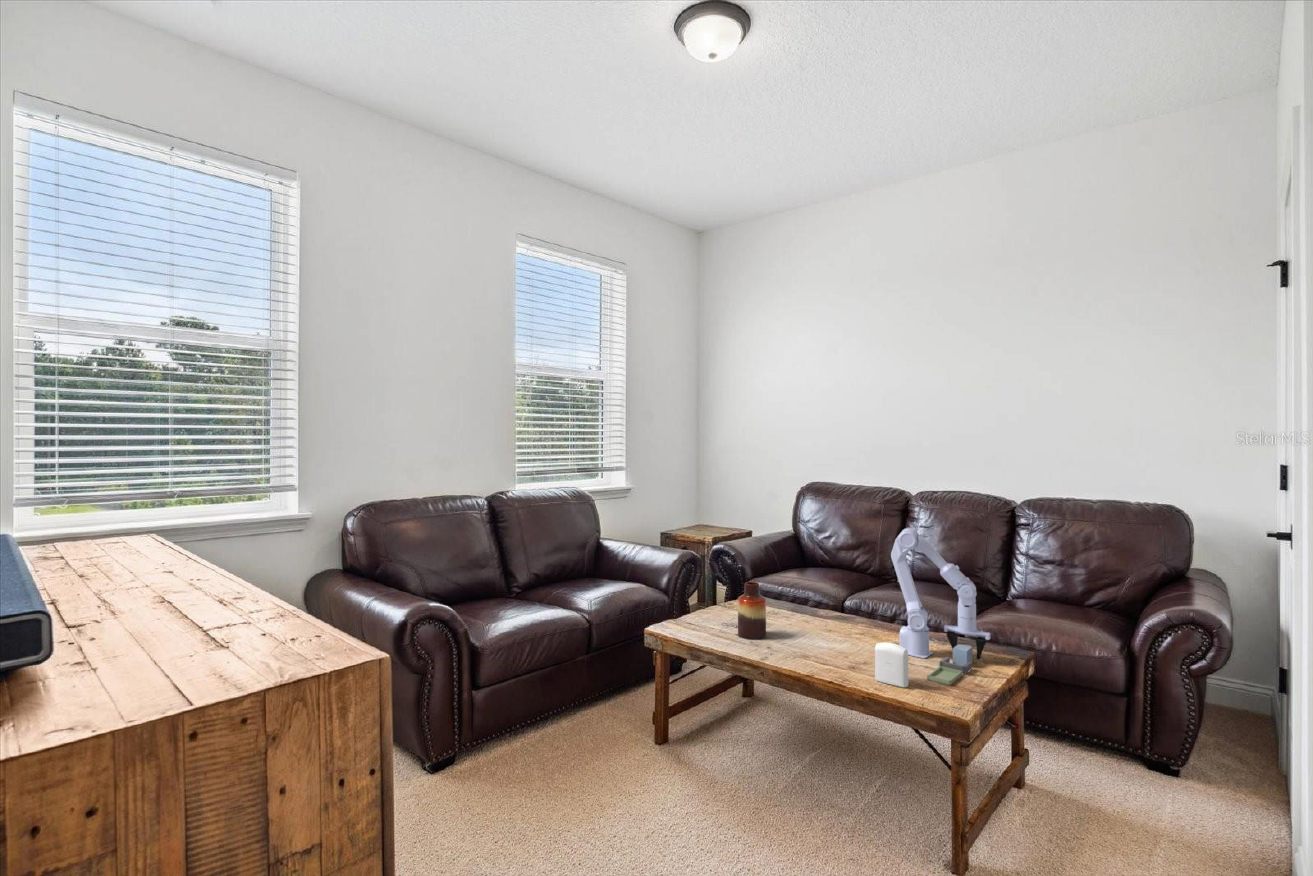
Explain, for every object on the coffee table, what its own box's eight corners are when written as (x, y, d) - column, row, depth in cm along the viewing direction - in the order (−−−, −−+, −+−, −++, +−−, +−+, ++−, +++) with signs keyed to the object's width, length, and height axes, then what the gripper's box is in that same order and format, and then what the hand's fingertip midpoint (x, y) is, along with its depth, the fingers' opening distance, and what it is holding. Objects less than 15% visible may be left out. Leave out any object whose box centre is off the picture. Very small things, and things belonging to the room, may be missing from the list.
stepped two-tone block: (952, 664, 222) (952, 648, 222) (961, 657, 229) (961, 642, 229) (966, 667, 219) (966, 651, 219) (974, 660, 226) (974, 644, 226)
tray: (927, 680, 208) (927, 675, 208) (939, 670, 217) (939, 666, 217) (950, 685, 204) (950, 681, 204) (962, 675, 212) (962, 671, 212)
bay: (939, 669, 218) (939, 661, 218) (946, 664, 223) (946, 656, 223) (965, 675, 213) (965, 667, 213) (971, 669, 218) (971, 662, 218)
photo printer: (872, 681, 208) (872, 641, 208) (878, 677, 211) (878, 638, 211) (904, 689, 201) (904, 649, 201) (910, 685, 204) (910, 645, 204)
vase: (765, 631, 260) (765, 580, 260) (767, 640, 249) (766, 586, 249) (737, 631, 261) (737, 579, 261) (738, 639, 250) (738, 586, 250)
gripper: (993, 618, 225) (993, 658, 225) (948, 610, 234) (948, 648, 234) (986, 622, 219) (986, 663, 219) (942, 614, 229) (942, 653, 229)
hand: (966, 656), depth 227 cm, fingers open, 7 cm apart
